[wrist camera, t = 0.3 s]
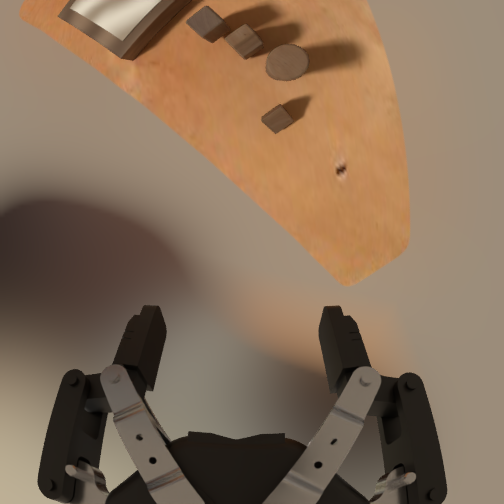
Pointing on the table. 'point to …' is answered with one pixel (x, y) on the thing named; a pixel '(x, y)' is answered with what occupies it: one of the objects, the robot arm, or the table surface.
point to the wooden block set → (247, 44)
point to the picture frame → (121, 21)
